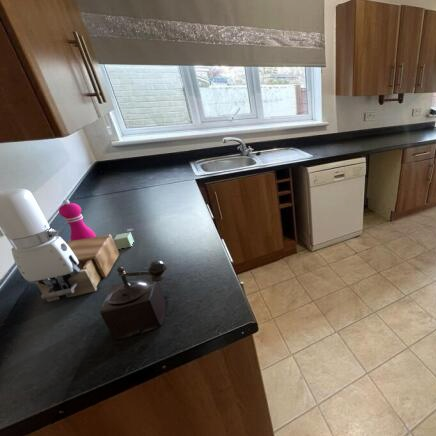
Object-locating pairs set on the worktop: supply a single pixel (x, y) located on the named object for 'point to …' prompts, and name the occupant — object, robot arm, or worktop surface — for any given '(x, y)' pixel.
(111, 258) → the cabinet
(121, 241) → the block
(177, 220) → the worktop surface
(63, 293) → the drawer
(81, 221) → the pepper mill
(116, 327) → the manual coffee grinder
